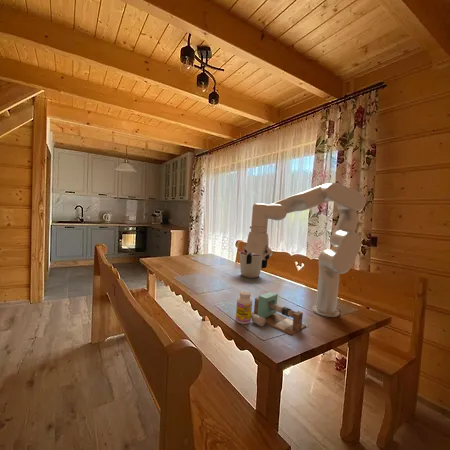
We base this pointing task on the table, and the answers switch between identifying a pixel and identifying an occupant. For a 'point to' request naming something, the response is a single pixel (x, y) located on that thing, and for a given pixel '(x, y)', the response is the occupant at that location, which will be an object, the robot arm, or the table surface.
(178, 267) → the table surface
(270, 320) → the pipe rig
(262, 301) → the collar
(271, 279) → the table surface
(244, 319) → the supplement bottle
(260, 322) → the sleeve
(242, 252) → the canister
